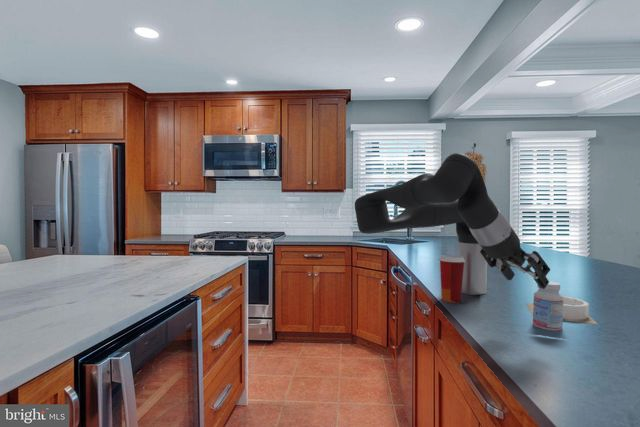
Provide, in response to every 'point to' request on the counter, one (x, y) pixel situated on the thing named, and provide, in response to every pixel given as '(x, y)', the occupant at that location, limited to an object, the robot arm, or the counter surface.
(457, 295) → the paper cup
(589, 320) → the mat
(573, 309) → the dish
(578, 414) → the counter surface
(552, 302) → the pill bottle
